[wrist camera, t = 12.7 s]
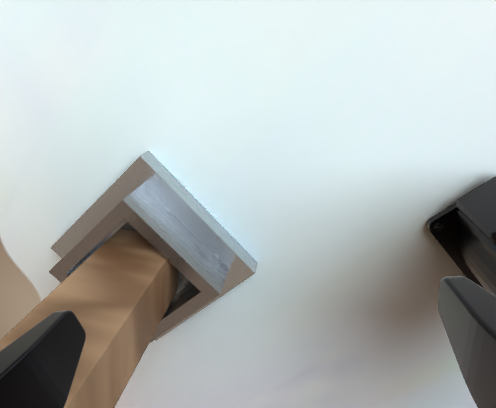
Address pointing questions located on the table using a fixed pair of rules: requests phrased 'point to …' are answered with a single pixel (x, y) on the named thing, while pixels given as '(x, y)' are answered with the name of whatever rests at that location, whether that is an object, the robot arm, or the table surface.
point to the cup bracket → (161, 238)
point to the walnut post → (110, 314)
